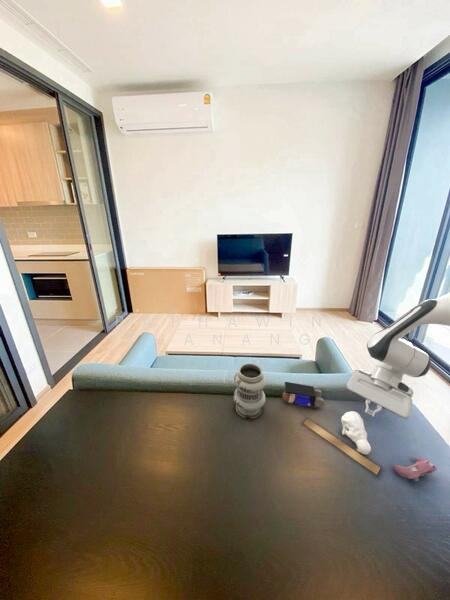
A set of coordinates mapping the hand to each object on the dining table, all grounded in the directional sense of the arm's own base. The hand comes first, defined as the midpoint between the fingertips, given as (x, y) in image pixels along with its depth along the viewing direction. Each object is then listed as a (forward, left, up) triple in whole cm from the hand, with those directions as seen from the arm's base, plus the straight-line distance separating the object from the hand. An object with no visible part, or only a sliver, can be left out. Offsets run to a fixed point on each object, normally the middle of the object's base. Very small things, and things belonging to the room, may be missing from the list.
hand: (369, 414), depth 86 cm
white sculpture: (0, +10, -4) cm, 11 cm away
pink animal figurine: (-16, +9, -4) cm, 19 cm away
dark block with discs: (+21, +9, -4) cm, 23 cm away
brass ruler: (+3, +16, -4) cm, 17 cm away
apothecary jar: (+33, +27, -4) cm, 43 cm away
